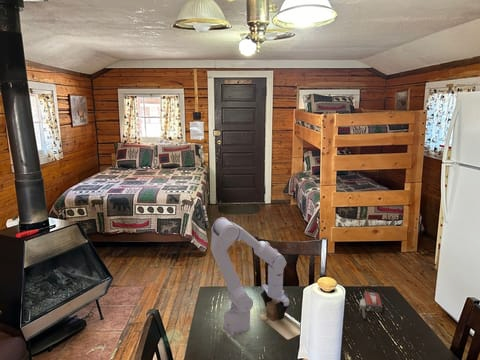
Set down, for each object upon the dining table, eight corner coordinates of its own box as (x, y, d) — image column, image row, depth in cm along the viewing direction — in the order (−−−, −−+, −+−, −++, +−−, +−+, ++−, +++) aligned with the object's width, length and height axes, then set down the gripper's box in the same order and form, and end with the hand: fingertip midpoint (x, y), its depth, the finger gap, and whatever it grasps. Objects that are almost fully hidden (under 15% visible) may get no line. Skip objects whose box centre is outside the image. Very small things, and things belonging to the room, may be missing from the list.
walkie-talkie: (358, 295, 159) (361, 321, 140) (358, 286, 158) (362, 310, 139) (378, 298, 157) (385, 324, 138) (379, 288, 156) (386, 314, 137)
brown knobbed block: (269, 322, 136) (269, 308, 135) (263, 317, 139) (263, 303, 138) (285, 316, 140) (286, 302, 139) (279, 311, 143) (279, 297, 142)
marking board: (287, 343, 126) (287, 335, 126) (257, 318, 141) (257, 311, 140) (306, 334, 131) (306, 327, 130) (275, 311, 146) (275, 304, 145)
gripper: (295, 287, 133) (294, 319, 136) (271, 272, 145) (271, 302, 147) (281, 292, 129) (280, 325, 132) (257, 276, 141) (257, 307, 144)
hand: (274, 314), depth 139 cm, fingers open, 7 cm apart
